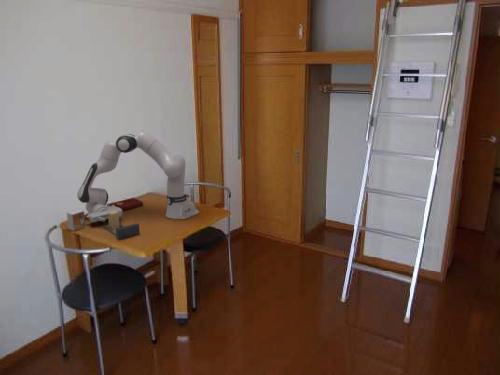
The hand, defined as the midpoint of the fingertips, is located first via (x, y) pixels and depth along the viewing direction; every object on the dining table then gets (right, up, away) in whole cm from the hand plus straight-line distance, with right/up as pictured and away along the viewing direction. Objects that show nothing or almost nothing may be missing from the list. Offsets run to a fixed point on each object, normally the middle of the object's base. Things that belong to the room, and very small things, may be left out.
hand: (111, 218), depth 256 cm
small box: (-20, -6, -2) cm, 21 cm away
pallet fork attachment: (+6, -7, -5) cm, 10 cm away
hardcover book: (-2, +4, +35) cm, 35 cm away
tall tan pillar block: (+2, -6, -1) cm, 6 cm away
